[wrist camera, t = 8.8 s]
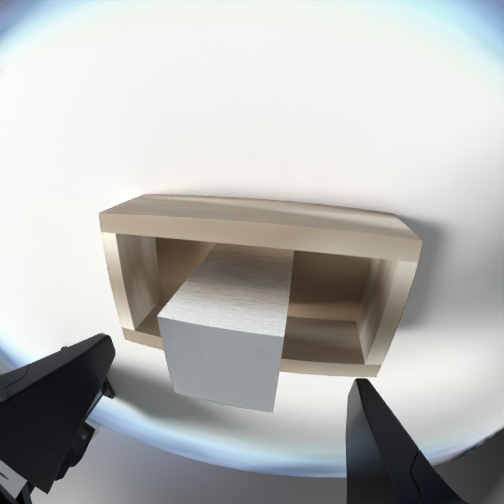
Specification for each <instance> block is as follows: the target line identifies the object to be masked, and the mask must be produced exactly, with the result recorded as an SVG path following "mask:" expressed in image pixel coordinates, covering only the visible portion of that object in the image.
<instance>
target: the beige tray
mask: <svg viewBox="0 0 504 504" xmlns="http://www.w3.org/2000/svg"><path fill="white" fill-rule="evenodd" d="M99 220H100V227H101V234H102V241H103V247H104V253H105V258H106V264H107V269H108V274H109V279H110V283H111V288H112V292H113V296H114V300H115V304H116V308H117V312H118V316H119V320H120V323H121V327H122V330H123V334H124V337H125V339H126V340H129V341H132V342H136V343H139V344H143V345H146V346H150V347H154V348H158V349H162V350H164V348H163V344H162V339H161V334H160V329H159V324H158V319H157V315H158V314H159V313H160V312H161V310H162V309H163V308H164V307H165V305H166V304H167V303H168V302H169V300H170V299H171V298H172V297H173V296H174V294H175V293H176V292H177V291H178V289H179V288H180V287H181V286H182V284H183V283H184V282H185V281H186V280H187V278H188V277H189V276H190V275H191V274H192V272H193V271H194V270H195V269H196V267H197V266H198V265H199V264H200V263H201V261H202V260H203V259H204V258H205V257H206V256H207V254H208V253H209V252H210V251H211V250H212V248H213V247H214V246H215V245H216V244H217V243H227V244H238V245H249V246H259V247H269V248H280V249H290V250H294V257H293V267H292V276H291V285H290V294H289V303H288V311H287V319H286V327H285V334H284V342H283V349H282V356H281V363H280V370H279V371H282V372H291V373H301V374H313V375H328V376H349V377H376V376H377V374H378V372H379V370H380V367H381V365H382V363H383V361H384V358H385V356H386V354H387V352H388V349H389V347H390V344H391V342H392V339H393V337H394V334H395V332H396V329H397V327H398V324H399V321H400V319H401V316H402V313H403V310H404V307H405V304H406V301H407V298H408V295H409V292H410V289H411V286H412V282H413V279H414V276H415V272H416V269H417V265H418V261H419V257H420V253H421V249H422V245H423V240H422V239H421V238H420V237H419V236H418V235H417V234H416V233H414V232H413V231H412V230H411V229H410V228H409V227H408V226H407V225H405V224H404V223H403V222H402V221H401V220H400V219H398V218H397V217H396V216H395V215H394V214H391V213H384V212H377V211H370V210H362V209H354V208H346V207H337V206H328V205H319V204H309V203H298V202H287V201H275V200H261V199H247V198H230V197H210V196H183V195H142V196H139V197H137V198H134V199H132V200H129V201H127V202H124V203H122V204H119V205H117V206H114V207H112V208H110V209H107V210H105V211H103V212H100V213H99Z"/></svg>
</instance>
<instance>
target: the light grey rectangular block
mask: <svg viewBox="0 0 504 504" xmlns="http://www.w3.org/2000/svg"><path fill="white" fill-rule="evenodd" d="M293 257H294V250H290V249H280V248H269V247H259V246H249V245H238V244H227V243H217V244H216V245H215V246H214V247H213V248H212V250H211V251H210V252H209V253H208V254H207V256H206V257H205V258H204V259H203V260H202V261H201V263H200V264H199V265H198V266H197V267H196V269H195V270H194V271H193V272H192V274H191V275H190V276H189V277H188V278H187V280H186V281H185V282H184V283H183V284H182V286H181V287H180V288H179V289H178V291H177V292H176V293H175V294H174V296H173V297H172V298H171V299H170V300H169V302H168V303H167V304H166V305H165V307H164V308H163V309H162V310H161V312H160V313H159V314H158V315H157V319H158V324H159V329H160V334H161V339H162V344H163V348H164V352H165V357H166V361H167V365H168V369H169V373H170V377H171V381H172V385H173V388H174V392H175V393H177V394H181V395H185V396H189V397H193V398H197V399H201V400H206V401H210V402H215V403H220V404H225V405H230V406H235V407H241V408H247V409H253V410H260V411H267V412H273V407H274V402H275V395H276V389H277V383H278V376H279V370H280V363H281V356H282V349H283V342H284V334H285V327H286V319H287V311H288V303H289V294H290V285H291V276H292V267H293Z"/></svg>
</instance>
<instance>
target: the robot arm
mask: <svg viewBox="0 0 504 504" xmlns="http://www.w3.org/2000/svg"><path fill="white" fill-rule="evenodd" d="M114 357H115V348H114V345H113V343H112V340H111V337H110V336H109V335H106V334H103V333H100V334H97V335H95V336H93V337H90V338H88V339H86V340H84V341H81V342H79V343H77V344H74V345H72V346H70V347H68V348H65V347H62V348H61V351H58V352H56V353H54V354H51V355H49V356H47V357H44V358H42V359H40V360H37V361H35V362H33V363H31V364H28V365H26V366H23V367H21V368H18V369H16V370H13V371H10V372H7V373H4V374H1V375H0V504H32V502H31V498H30V494H31V493H32V491H33V489H34V488H35V486H36V487H37V488H39V489H40V490H42V491H43V492H45V493H46V494H48V493H49V491H50V489H51V487H52V484H53V482H54V480H55V481H57V480H59V479H62V478H63V477H64V475H65V474H66V472H67V470H68V468H69V467H74V466H75V465H76V464H77V463H78V462H79V461H80V460H81V458H82V457H83V455H84V453H85V451H86V449H87V446H88V444H89V442H90V440H91V438H92V436H93V433H94V431H95V429H94V428H93V427H92V426H90V425H89V424H87V423H86V422H85V420H86V419H87V417H88V416H89V415H90V413H91V412H92V410H93V409H94V407H95V406H96V405H97V403H98V402H99V400H100V399H101V398H102V396H103V395H104V396H106V397H109V398H111V399H113V398H114V397H115V395H114V393H113V391H112V389H111V387H110V385H109V383H108V381H107V379H106V375H107V373H108V371H109V368H110V366H111V364H112V362H113V359H114ZM346 465H347V504H471V503H469V502H467V501H465V500H464V499H462V498H461V497H460V496H459V495H458V494H457V493H456V492H455V491H454V490H453V489H452V488H451V487H450V486H449V484H448V483H447V482H446V481H445V480H444V479H443V478H442V477H441V476H440V475H439V474H438V472H437V471H436V470H435V469H434V468H433V467H432V465H431V464H430V463H429V461H428V460H427V459H426V457H425V456H424V455H423V453H422V452H421V451H420V450H419V448H418V447H417V445H416V444H415V442H414V441H413V440H412V438H411V437H410V435H409V434H408V433H407V431H406V430H405V429H404V427H403V426H402V425H401V423H400V422H399V420H398V419H397V418H396V416H395V415H394V414H393V412H392V411H391V410H390V408H389V407H388V405H387V404H386V403H385V401H384V400H383V399H382V397H381V396H380V395H379V393H378V392H377V391H376V389H375V388H374V387H373V385H372V384H371V383H370V381H369V380H368V379H365V378H357V379H355V381H354V383H353V385H352V387H351V390H350V392H349V395H348V404H347V422H346Z"/></svg>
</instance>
